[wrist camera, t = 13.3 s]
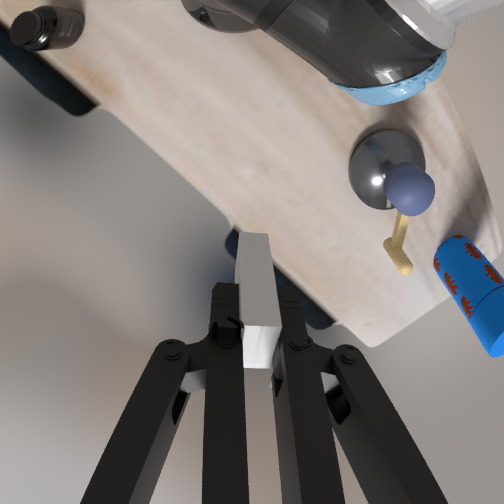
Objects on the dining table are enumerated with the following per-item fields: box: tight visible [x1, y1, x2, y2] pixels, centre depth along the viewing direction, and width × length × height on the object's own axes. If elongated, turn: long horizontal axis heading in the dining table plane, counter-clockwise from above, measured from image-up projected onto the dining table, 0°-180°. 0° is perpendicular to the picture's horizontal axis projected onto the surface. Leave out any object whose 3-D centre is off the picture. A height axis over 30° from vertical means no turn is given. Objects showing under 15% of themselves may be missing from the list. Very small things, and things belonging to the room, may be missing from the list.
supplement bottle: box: [10, 6, 84, 51], centre depth 27 cm, size 7×7×12 cm
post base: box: [349, 129, 426, 210], centre depth 46 cm, size 14×14×6 cm
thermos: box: [433, 235, 504, 357], centre depth 49 cm, size 11×11×25 cm
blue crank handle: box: [383, 162, 435, 275], centre depth 43 cm, size 16×7×7 cm, turn 1°
